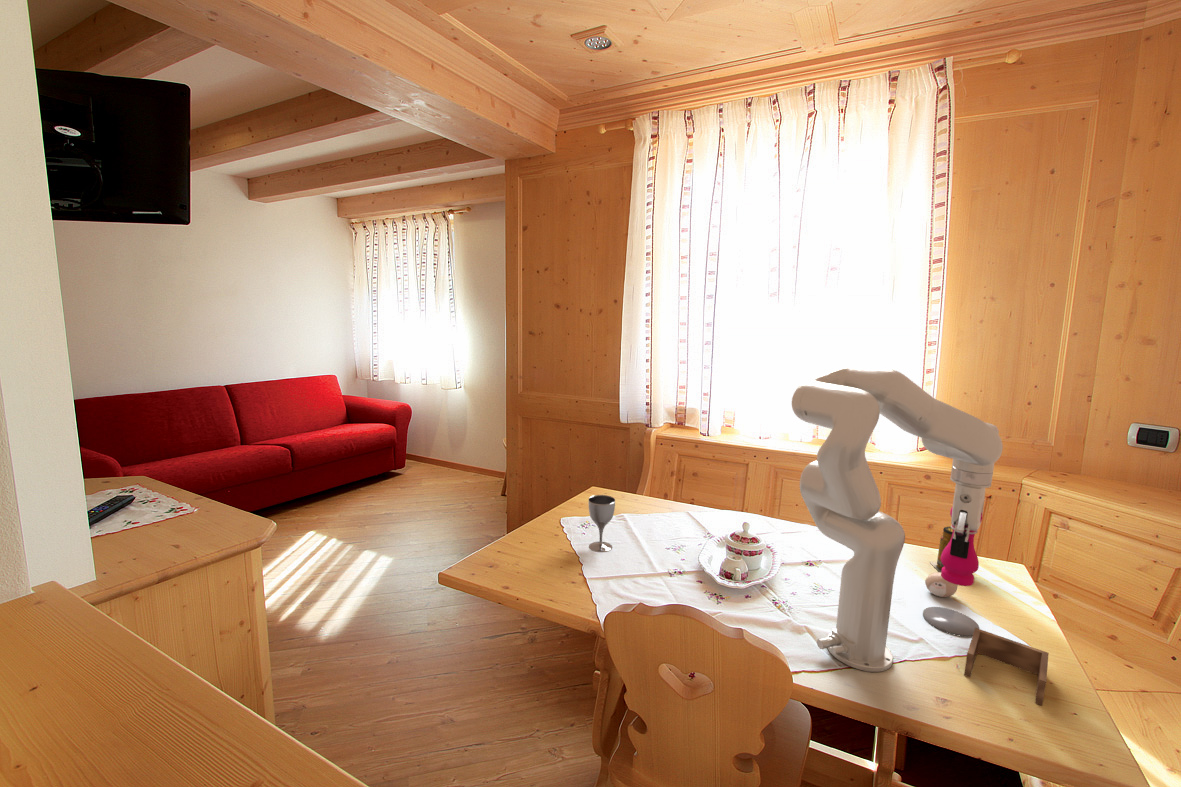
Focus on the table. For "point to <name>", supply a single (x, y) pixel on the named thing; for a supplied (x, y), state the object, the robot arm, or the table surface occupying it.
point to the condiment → (943, 546)
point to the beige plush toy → (940, 585)
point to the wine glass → (601, 518)
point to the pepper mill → (960, 562)
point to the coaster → (950, 621)
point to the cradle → (1009, 657)
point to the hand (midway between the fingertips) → (960, 551)
